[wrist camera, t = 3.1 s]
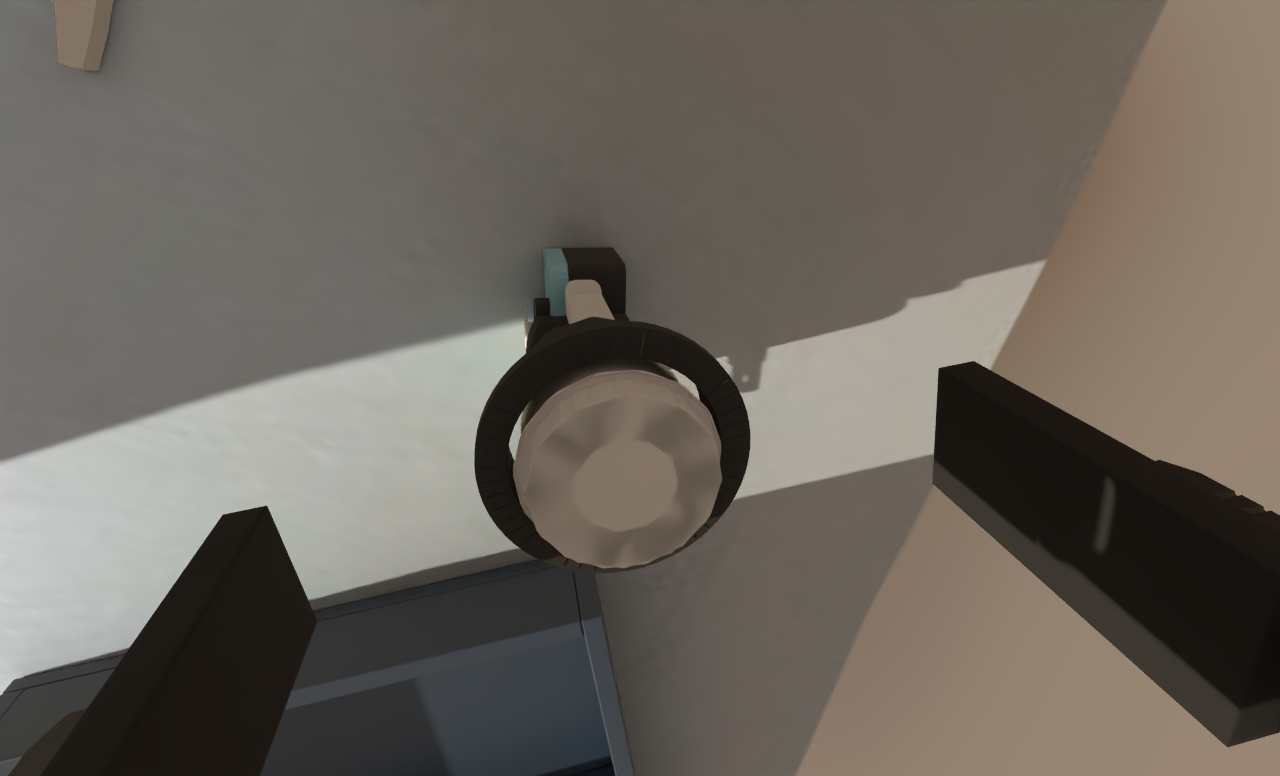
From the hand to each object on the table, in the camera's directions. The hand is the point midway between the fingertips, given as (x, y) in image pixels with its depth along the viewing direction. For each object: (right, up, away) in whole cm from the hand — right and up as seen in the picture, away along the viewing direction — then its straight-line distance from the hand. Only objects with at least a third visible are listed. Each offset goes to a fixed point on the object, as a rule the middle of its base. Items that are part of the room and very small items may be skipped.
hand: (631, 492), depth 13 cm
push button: (-2, +4, +8) cm, 9 cm away
